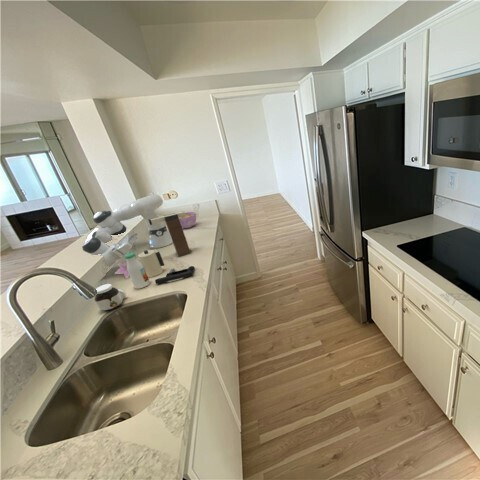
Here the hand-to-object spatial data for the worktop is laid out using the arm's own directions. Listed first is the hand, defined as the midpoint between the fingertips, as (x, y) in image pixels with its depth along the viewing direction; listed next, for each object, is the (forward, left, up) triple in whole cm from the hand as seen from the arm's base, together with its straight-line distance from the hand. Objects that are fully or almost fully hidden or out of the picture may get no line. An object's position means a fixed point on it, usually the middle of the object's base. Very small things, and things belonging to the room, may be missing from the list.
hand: (136, 235), depth 172 cm
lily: (+10, -10, -21) cm, 26 cm away
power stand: (0, +23, -21) cm, 31 cm away
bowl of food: (-65, +37, -21) cm, 77 cm away
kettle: (+20, +3, -21) cm, 29 cm away
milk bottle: (+32, -4, -21) cm, 39 cm away
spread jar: (+44, -17, -21) cm, 52 cm away
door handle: (+35, +14, -21) cm, 43 cm away
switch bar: (0, +21, +5) cm, 21 cm away
